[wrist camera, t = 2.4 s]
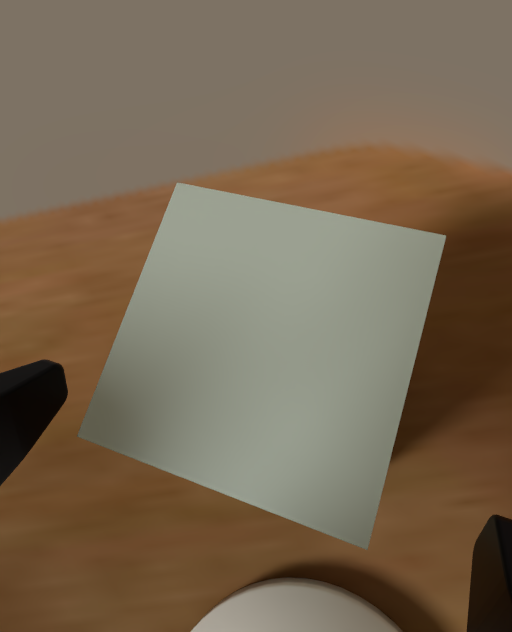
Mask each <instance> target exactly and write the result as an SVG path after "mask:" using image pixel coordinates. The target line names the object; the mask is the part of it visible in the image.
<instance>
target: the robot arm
mask: <svg viewBox="0 0 512 632" xmlns="http://www.w3.org/2000/svg"><path fill="white" fill-rule="evenodd" d="M67 395H68V389H67V384H66V379H65V374H64V369H63V367H62V365H60V364H59V363H56V362H53V361H50V360H40V361H37V362H34V363H31V364H27V365H24V366H21V367H18V368H15V369H12V370H9V371H6V372H3V373H0V486H1V484H2V483H3V482H4V481H5V480H6V479H7V478H8V476H9V475H10V474H11V473H12V472H13V471H14V470H15V468H16V467H17V466H18V465H19V464H20V462H21V461H22V460H23V459H24V458H25V456H26V455H27V454H28V452H29V451H30V450H31V448H32V447H33V446H34V444H35V443H36V441H37V440H38V439H39V437H40V436H41V435H42V433H43V432H44V430H45V429H46V428H47V426H48V425H49V423H50V422H51V421H52V419H53V418H54V416H55V415H56V414H57V412H58V411H59V409H60V408H61V407H62V405H63V404H64V402H65V401H66V398H67ZM467 632H512V520H511V519H508V518H505V517H502V516H500V515H492V516H491V517H490V518H489V520H488V521H487V523H486V525H485V526H484V528H483V530H482V532H481V533H480V535H479V537H478V538H477V540H476V543H475V546H474V550H473V559H472V571H471V584H470V596H469V609H468V622H467Z"/></svg>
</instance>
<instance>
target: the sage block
mask: <svg viewBox="0 0 512 632" xmlns="http://www.w3.org/2000/svg"><path fill="white" fill-rule="evenodd" d="M445 239H446V235H441V234H436V233H431V232H425V231H420V230H415V229H410V228H405V227H400V226H395V225H390V224H385V223H380V222H375V221H370V220H365V219H360V218H354V217H349V216H344V215H339V214H334V213H329V212H324V211H319V210H314V209H309V208H304V207H299V206H294V205H289V204H284V203H278V202H273V201H268V200H263V199H258V198H253V197H248V196H243V195H238V194H233V193H228V192H223V191H218V190H213V189H208V188H202V187H197V186H192V185H187V184H182V183H177V184H176V187H175V189H174V192H173V194H172V197H171V200H170V202H169V205H168V207H167V210H166V212H165V215H164V217H163V220H162V222H161V225H160V227H159V230H158V232H157V235H156V237H155V240H154V243H153V245H152V248H151V250H150V253H149V255H148V258H147V260H146V263H145V265H144V268H143V270H142V273H141V276H140V278H139V281H138V283H137V286H136V288H135V291H134V293H133V296H132V298H131V301H130V303H129V306H128V308H127V311H126V313H125V316H124V319H123V321H122V324H121V326H120V329H119V331H118V334H117V336H116V339H115V341H114V344H113V346H112V349H111V351H110V354H109V357H108V359H107V362H106V364H105V367H104V369H103V372H102V374H101V377H100V379H99V382H98V384H97V387H96V389H95V392H94V395H93V397H92V400H91V402H90V405H89V407H88V410H87V412H86V415H85V417H84V420H83V422H82V425H81V427H80V430H79V433H78V435H77V437H80V438H83V439H85V440H88V441H90V442H93V443H95V444H98V445H100V446H103V447H106V448H108V449H111V450H113V451H116V452H118V453H121V454H123V455H126V456H128V457H131V458H134V459H136V460H139V461H141V462H144V463H146V464H149V465H152V466H154V467H157V468H159V469H162V470H164V471H167V472H169V473H172V474H174V475H177V476H180V477H182V478H185V479H187V480H190V481H192V482H195V483H197V484H200V485H203V486H205V487H208V488H210V489H213V490H215V491H218V492H220V493H223V494H226V495H228V496H231V497H233V498H236V499H238V500H241V501H243V502H246V503H249V504H251V505H254V506H256V507H259V508H261V509H264V510H266V511H269V512H272V513H274V514H277V515H279V516H282V517H284V518H287V519H289V520H292V521H295V522H297V523H300V524H302V525H305V526H307V527H310V528H312V529H315V530H318V531H320V532H323V533H325V534H328V535H330V536H333V537H335V538H338V539H341V540H343V541H346V542H348V543H351V544H353V545H356V546H358V547H361V548H364V549H366V550H368V546H369V542H370V538H371V534H372V530H373V526H374V522H375V518H376V514H377V510H378V506H379V502H380V498H381V494H382V490H383V486H384V482H385V478H386V474H387V470H388V466H389V462H390V458H391V454H392V450H393V446H394V442H395V438H396V434H397V430H398V426H399V422H400V418H401V414H402V410H403V406H404V402H405V398H406V394H407V390H408V386H409V382H410V378H411V374H412V370H413V366H414V362H415V358H416V354H417V350H418V346H419V342H420V338H421V334H422V330H423V326H424V322H425V319H426V315H427V311H428V307H429V303H430V299H431V295H432V291H433V287H434V283H435V279H436V275H437V271H438V267H439V263H440V259H441V255H442V251H443V247H444V243H445Z"/></svg>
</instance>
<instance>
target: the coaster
mask: <svg viewBox="0 0 512 632" xmlns="http://www.w3.org/2000/svg"><path fill="white" fill-rule="evenodd" d="M191 632H403V631H402V630H401V629H400V628H399V627H398V626H397V625H396V624H395V623H394V622H393V621H392V620H391V619H390V618H389V617H387V616H386V615H385V614H384V613H383V612H382V611H380V610H379V609H378V608H377V607H375V606H374V605H372V604H371V603H369V602H368V601H366V600H364V599H363V598H361V597H360V596H358V595H356V594H354V593H352V592H350V591H348V590H346V589H344V588H342V587H339V586H336V585H333V584H330V583H327V582H324V581H318V580H313V579H308V578H291V577H286V578H277V579H269V580H265V581H261V582H258V583H254V584H251V585H249V586H247V587H244V588H242V589H240V590H237V591H236V592H234V593H232V594H231V595H229V596H228V597H226V598H224V599H223V600H221V601H220V602H219V603H218V604H217V605H215V606H214V607H213V608H212V609H211V610H210V611H208V612H207V614H206V615H205V616H204V617H203V618H202V619H201V620H200V621H199V623H198V624H197V625H196V626H195V627H194V628H193V629H192V631H191Z"/></svg>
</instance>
